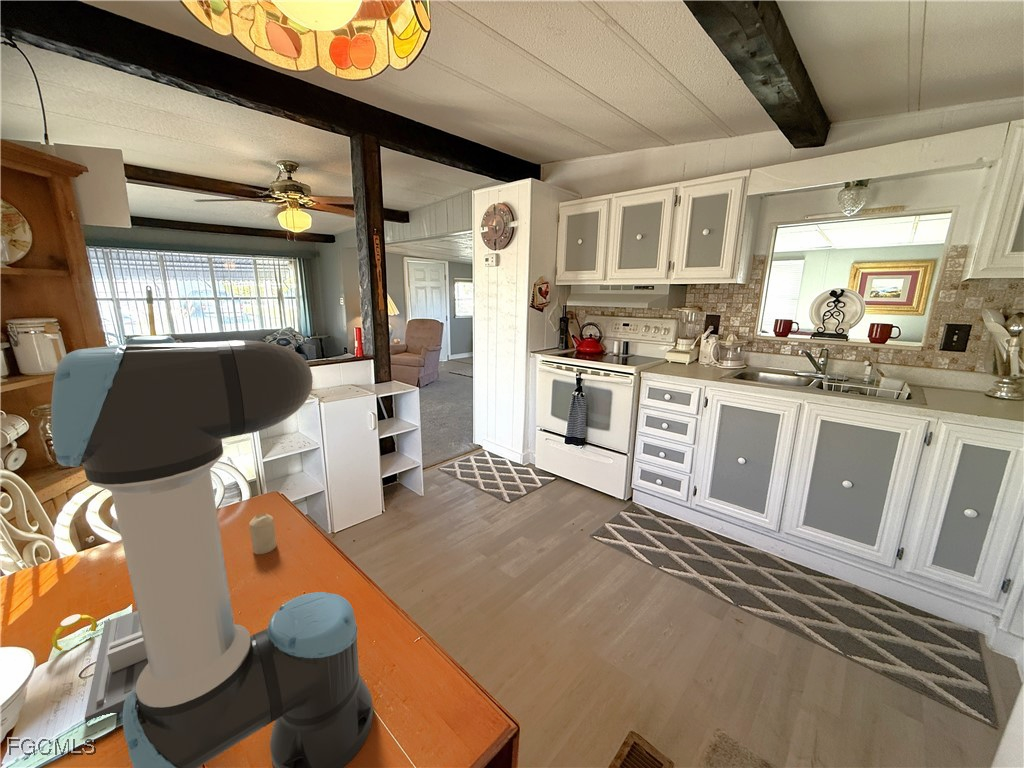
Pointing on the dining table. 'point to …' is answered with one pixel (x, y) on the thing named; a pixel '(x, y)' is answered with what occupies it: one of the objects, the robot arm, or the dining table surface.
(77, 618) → the watch
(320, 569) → the dining table surface
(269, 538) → the candle
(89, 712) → the console board
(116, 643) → the grey cap
